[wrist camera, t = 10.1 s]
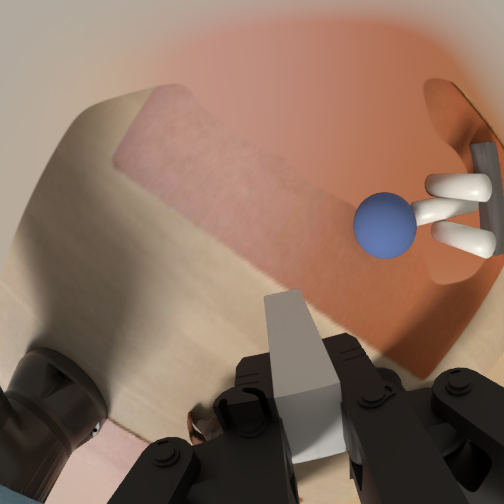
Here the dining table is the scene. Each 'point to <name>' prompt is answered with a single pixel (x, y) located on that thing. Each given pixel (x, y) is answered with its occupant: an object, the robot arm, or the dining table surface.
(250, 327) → the dining table surface
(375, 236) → the ball
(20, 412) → the robot arm
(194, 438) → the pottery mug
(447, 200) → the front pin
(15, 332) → the dining table surface
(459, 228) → the pin
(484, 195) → the pin
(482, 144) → the back wall
